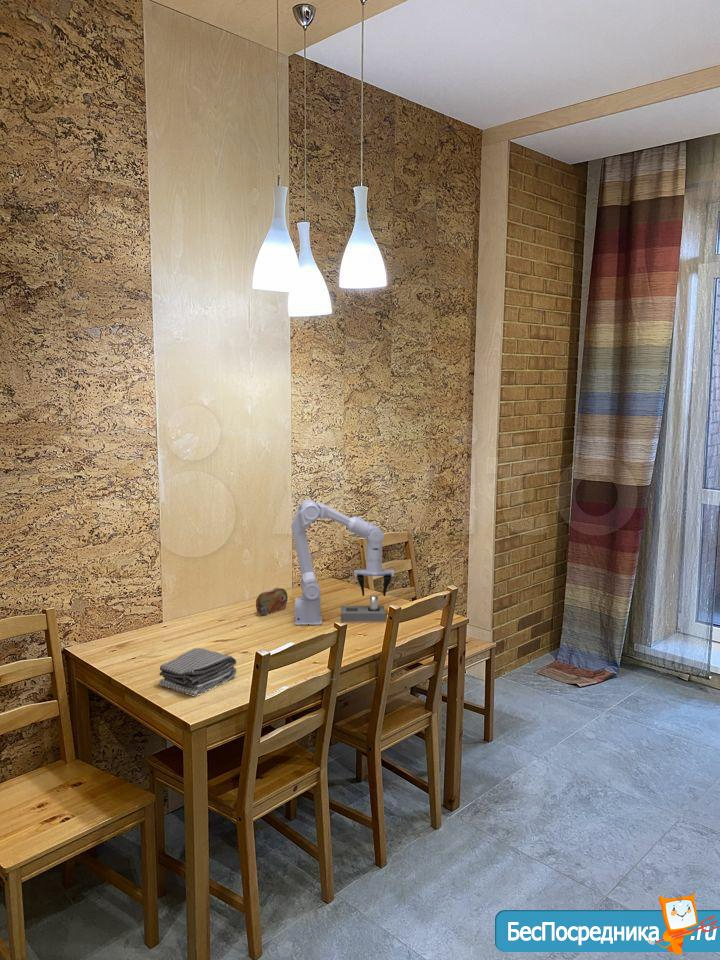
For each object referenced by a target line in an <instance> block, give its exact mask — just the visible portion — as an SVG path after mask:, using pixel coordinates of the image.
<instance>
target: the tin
mask: <svg viewBox="0 0 720 960" xmlns="http://www.w3.org/2000/svg"><path fill="white" fill-rule="evenodd" d="M288 597H289V596H288V593H287V591H286V589H285V588H282V587H281V588H279V587H275V588H273V589H269V590H267V591H264V592H261V593H259V595H258V596H257V597H256V600H255V608H256V612H257V613H258V614H260V615H264V616H269V615H272V614H274V613H277V612H279V610H280V611H282V610H283V609H285V607H286V606H287V603H288ZM276 611H277V612H276ZM271 613H272V614H271ZM268 614H269V615H268Z"/></svg>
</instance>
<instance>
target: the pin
mask: <svg viewBox="0 0 720 960" xmlns="http://www.w3.org/2000/svg"><path fill="white" fill-rule="evenodd" d="M369 606H370V611H378V606H379V596H378V594H377V595H376V594H372V595H370V596H369Z"/></svg>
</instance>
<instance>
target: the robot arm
mask: <svg viewBox="0 0 720 960" xmlns="http://www.w3.org/2000/svg"><path fill="white" fill-rule="evenodd" d="M327 518H328V519H330V520H332V521H335V522H336V523H339V524H340V525H341V524H342V525H344V526H346V527H347V528H346V529H347V531H349V532H350V533H352V534H354V535H357V536H359V537H360V538H363V539H366V546H365V547H366V552H365V554H366V558H365V559H366V561H365V563H366V565H365V568H364V569H354V570H353V577H354V578H356V580H357V582H358V584H359V586H360V589H361V596H362V597H364V596H365V577H383V589H382V594H383V597H386V595H387V590H388V587H389V585H390V583H391V581H392V577H395V570H394V569H383V541H384V539H385V535H384V532H383V530H382V529H381V528H380V527H379V526H378V525H376V524H374V523H373V522H368V521H366V520H364V519H363V518H362V517H361V516H355V515H354V516H351V517H350V516H347V514H346V515H345V514H343V513H342V512H340V511H338V510H336V509H334V508H332V507H330V506H329V505H326V504H323V503H321V502H318V501H317V502H316V501H314V500H313V499H305V500H304V501H302V502H301V503H300V504H299V506H298V507H297V509H296V513H295V515H294V517H293V520H292V522H291V531H292V535H293V539H294V540H293V541H294V544H295V550H296V554H297V560H298V565H299V569H300V575H301V582H300V587H301V591H302V593H301V595H300V597H295V599H294V614H293V615H294V625H295V626H312V625H313V626H318V625H319V626H321V625H322V623H323V617H322V615H321V614H322V613H321V612H322V611H321V610H322V609H321V603H322V602H321V599H322V598H321V591H322V590H321V588H320V586H319V582H318V581H317V579H316V576H315V572H314V566H313V561H312V556H311V552H310V548H309V542H308V538H307V533H306V529H307V528H309V526H310V525H311V524H312V523H313V522H315V521H316V520H318V519H320V520H322V519H327ZM308 624H309V625H308Z"/></svg>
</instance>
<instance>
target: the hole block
mask: <svg viewBox="0 0 720 960" xmlns="http://www.w3.org/2000/svg"><path fill="white" fill-rule="evenodd" d="M386 617H387V616H386V609H385V605H378V611H370V605H341V606H340V623H341V622H346V623H345V624H357V623H359V624H360V623H361V624H368V623H369V624H372V623H375V624H376V623H378V624H379V623H380V624H381V623H383V624H384V623H385V624H386Z"/></svg>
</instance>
